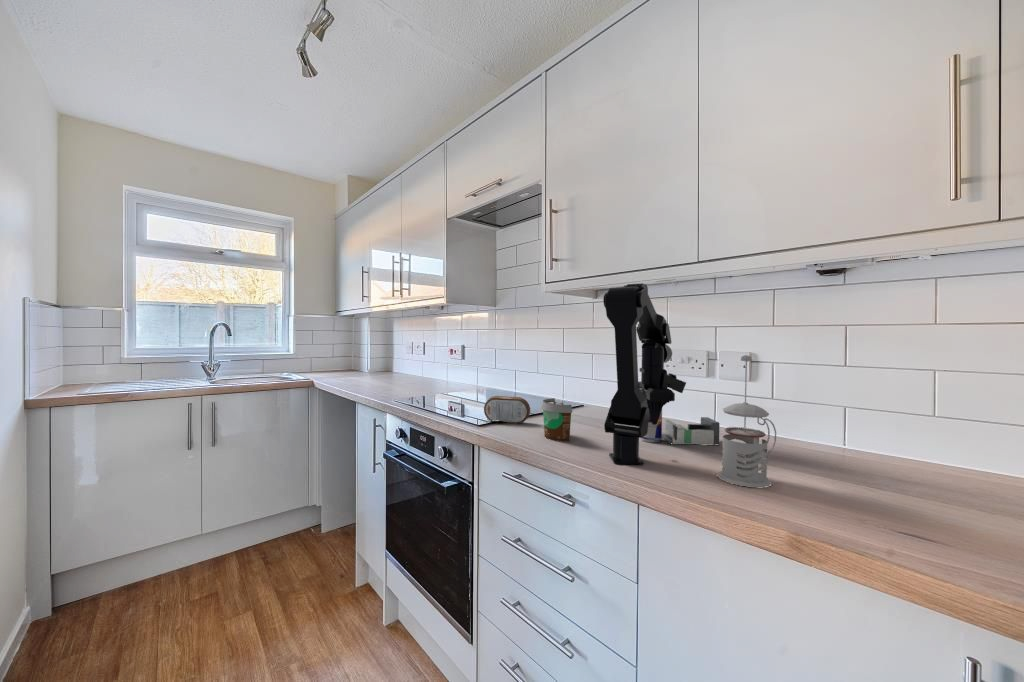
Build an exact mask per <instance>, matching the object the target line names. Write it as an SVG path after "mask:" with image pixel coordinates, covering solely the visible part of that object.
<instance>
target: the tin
mask: <svg viewBox="0 0 1024 682" xmlns="http://www.w3.org/2000/svg"><path fill="white" fill-rule="evenodd" d="M483 412H484V415H485V417H486V419H487V420H489V421H490V420H499V421H503V422H507V423H506V424H514V423H519V424H523V423H524V422H525V421H526V420H527V419H528V418H529V417H530V414H531V407H530V404H529V402H528V401H527V400H526V399H525V398H522V397H520V396H505V395H493V396H490V397H489V398H488V400H486V402H485V403H484V407H483Z"/></svg>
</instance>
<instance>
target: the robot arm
mask: <svg viewBox="0 0 1024 682" xmlns="http://www.w3.org/2000/svg"><path fill="white" fill-rule="evenodd" d="M648 287H649V286H648V284H647V283H646V284H645V283H640V282H639V283H629V284H626V285H624V286H618V287H610V288H609V289H608V291H607V292H605V293H604V295H603V301H602V302H603V307H604V308H605V314H606V317H607V318H606V319H608V320H609V322H610V323H611V325H612V326H613V328H614V343H615V344H614V345H615V361H616V382H617V383H616V384H617V386H616V387H617V389H616V392H615V394H614V395H613V396H612V399H611V400H610V407H609V409H608V412H607V414H606V419H605V422H604V426H603V427H604V432H605V433H607V434H609V433H610V434H612V435H613V436H612V452H610V453H609V454H608V456H609V458H610V460H611V461H612V462H613V464H619V465H620V464H621V465H644V461H643V459H642V458H641V457H640V455H639V454H640V439H641V438H642V437H644V436H645V435H647V432H648V423H649V416H650V419H651V422H652V424H653V425H656V424H657V422H658V419H659V416H660V413H661V410H662V411H663V407H664V406H665V405H667V404H668V403H670V402H675V401H676V398H675V397H676V395H675V392H678V393H680V394H683V392H684V389H685V387H686V385H687V382H685V381H684V380H680V379H678V378H677V375H675V374H673V373H671V372H670V373H668V371H667V370H666V369H665V368H664V367H665V363H668V362H669V361H671V359H672V357H673V350H672V348H671V347H670V346H669V345H672V336H671V330H670V325H669V323H668V322H667V320H666V319H665V316H664V315H661V314H659V313H657V312H656V309H655V306H654V305H653V302H652V300H651V298H650V295H649V290H648V289H649V288H648ZM637 337H638V340H639V341H640V342H641V344H642V345H641V367H639V366H638V365H639V363H638V362H639V361H638V345H637V344H638V343H637ZM668 344H669V345H668ZM638 367H639V368H638ZM639 372H640V373H641V374H640V376H641V381H639ZM674 391H675V392H674Z"/></svg>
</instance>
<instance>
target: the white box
mask: <svg viewBox="0 0 1024 682" xmlns="http://www.w3.org/2000/svg"><path fill="white" fill-rule="evenodd" d="M673 429H675V440H677V429H681V430H688V428H686V427H684V426H683V425H682V424H676V423H674V422H673V421H671V420H669V419H665V428H664V431H665V433H664V434H667V435H668V436H669V437H671V438H672V439H673Z"/></svg>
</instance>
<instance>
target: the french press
mask: <svg viewBox="0 0 1024 682" xmlns="http://www.w3.org/2000/svg"><path fill="white" fill-rule="evenodd" d="M740 361H742V362H745V375H744V378H745V380H744V382H745V383H744V384H745V385H744V402H742V403H740V402H739V403H734V404H731V405H728V406H725V407H723V408H722V411H723V413H725V414H727V415H730V416H737V417H741V418H742V417H743V418H744V422H743V423H744V424H743V425H744V427H739V426H727V427H725V428H724V432H725V433H726V434H724V435H722V446H721V447H722V457H721V460H722V462H721V465H722V468H721V470H720V471H719V472H718V473H716V474H717V475H718V477H720V478H721V479H723V480H725V481H728V482H730V483H733V484H737V485H741V486H748V487H765V486H769V485H770V484H771V483H772V481H771V480H770V479H769V478H768V477H767V475H768V474H767V469H768V466H767V465H768V454H770V453H771V452H772V450H773V449H774V447H775V445H776V442H777V430H776V426H775V423H773V421H772V420H771V419H768V418H767V417H769V415H770V413H769V411H767V410H765V409H764V408H762V407H760V406H758V405H755V404H751V403H748V402H747V377H748V375H747V373H748V371H747V370H748V363H747V362H752V361H753V359H752V356H750V355H748V354H746V355H742V356H741V357H740ZM746 418H751V419H753V418H757V424H758V425H759V426H764V425H766V428H767V440H766V439H763V437H765V436H766V433H765V432H764V431H762V430H760V429H754V428H749V427H747V425H746V421H747V420H746ZM760 419H761V420H763V423H760ZM767 421H768V422H770V424H771V425H772V428H773V431H774V441H773V444H772V446H771V448H770V449H769V450H768V445H769V444H768V443H769V441H770V436H771V435H770V427H769V425H768V422H767ZM760 438H761V443H760ZM733 440H739V441H733ZM740 441H741V442H740ZM743 442H744V443H743ZM760 458H761V459H760ZM759 459H760V460H759ZM759 465H761V466H759ZM760 471H761V472H760ZM717 475H716V476H717ZM770 481H771V482H770ZM737 485H736V486H737ZM741 486H740V487H741Z"/></svg>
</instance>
